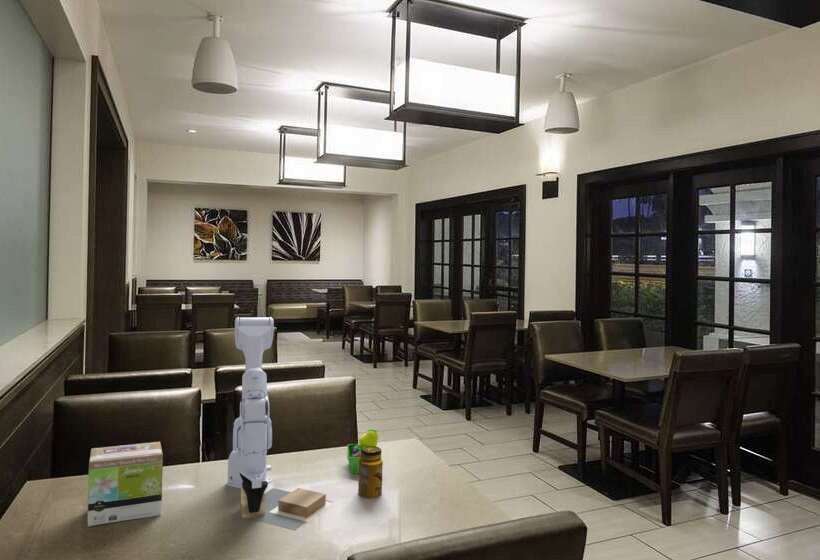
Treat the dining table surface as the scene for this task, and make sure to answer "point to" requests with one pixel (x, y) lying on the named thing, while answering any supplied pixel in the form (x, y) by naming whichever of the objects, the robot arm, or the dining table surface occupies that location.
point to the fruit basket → (355, 449)
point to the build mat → (280, 517)
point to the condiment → (370, 472)
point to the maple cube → (246, 510)
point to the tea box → (124, 483)
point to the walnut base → (302, 502)
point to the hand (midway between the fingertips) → (252, 506)
